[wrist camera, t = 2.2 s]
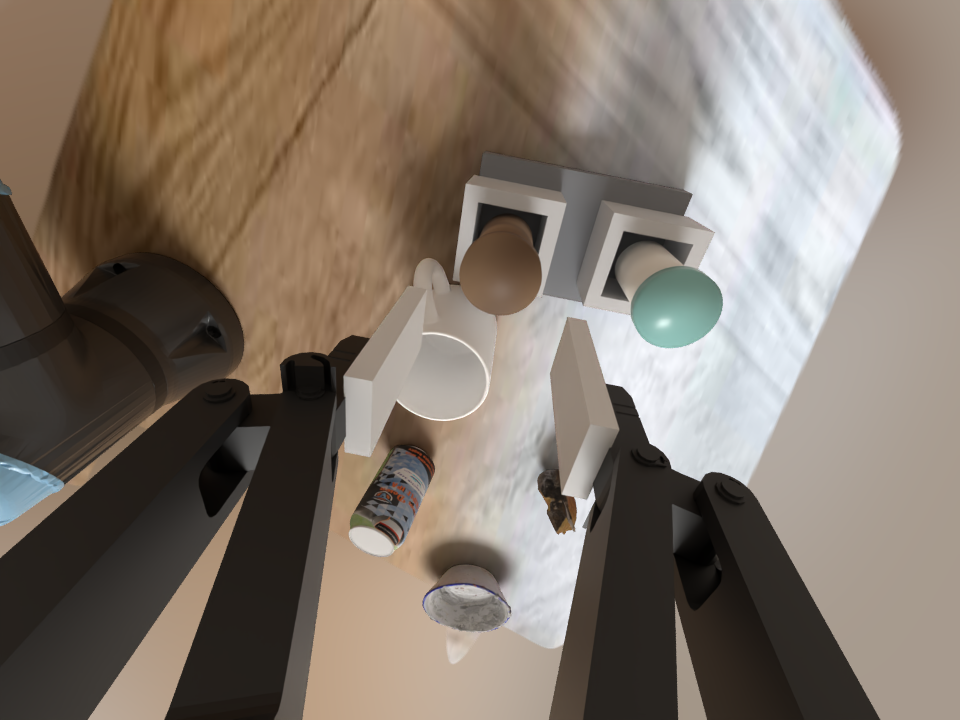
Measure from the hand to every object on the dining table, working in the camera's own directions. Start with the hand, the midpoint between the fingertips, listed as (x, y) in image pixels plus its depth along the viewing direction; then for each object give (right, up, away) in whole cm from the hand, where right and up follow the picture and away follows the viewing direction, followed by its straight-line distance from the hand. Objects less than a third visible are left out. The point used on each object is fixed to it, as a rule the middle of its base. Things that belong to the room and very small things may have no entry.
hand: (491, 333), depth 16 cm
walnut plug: (+2, +8, +13) cm, 15 cm away
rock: (+8, -14, +32) cm, 36 cm away
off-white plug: (+11, +6, +13) cm, 18 cm away
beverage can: (-9, -13, +34) cm, 37 cm away
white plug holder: (+7, +10, +18) cm, 21 cm away
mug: (-3, +4, +22) cm, 23 cm away
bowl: (-2, -35, +46) cm, 58 cm away
